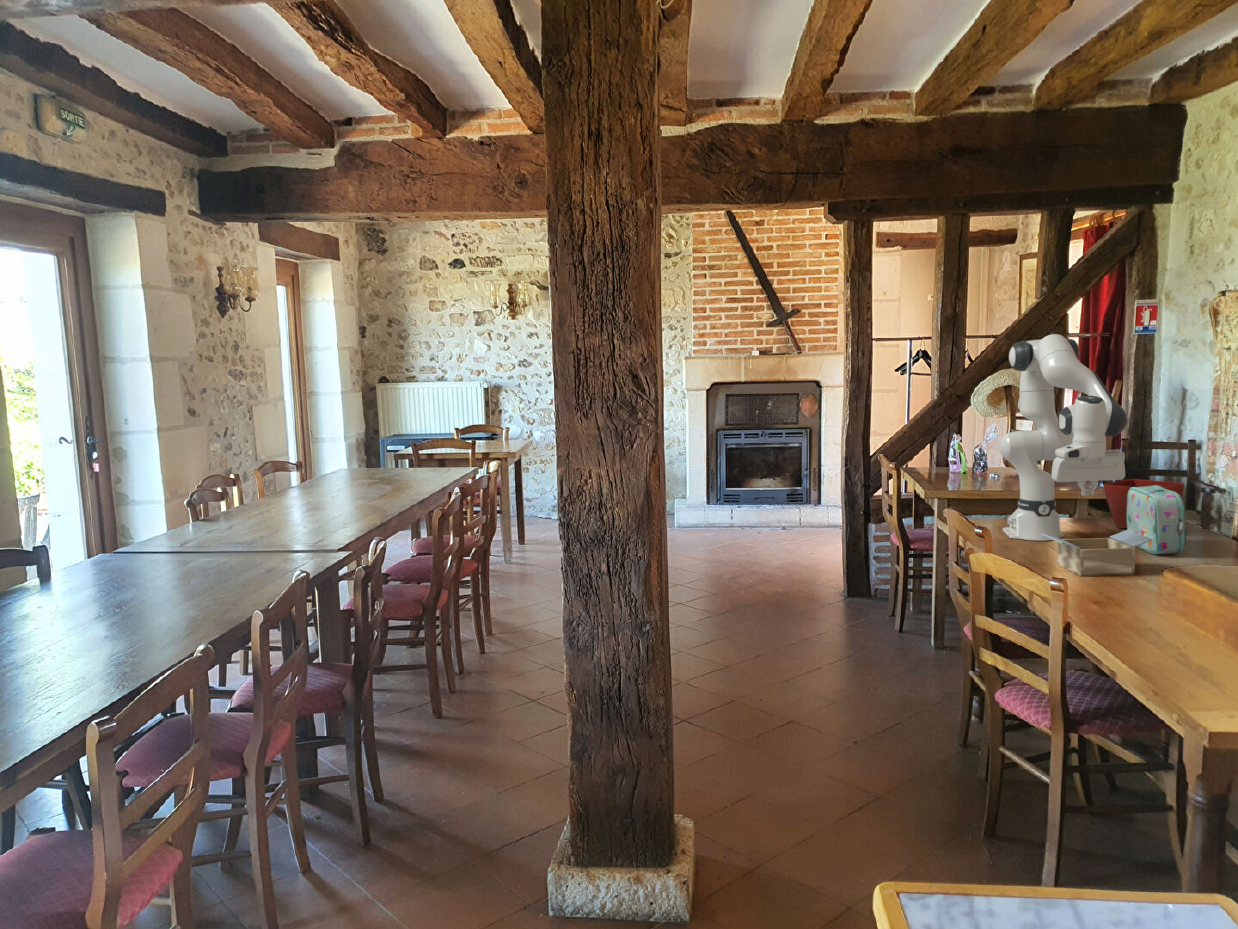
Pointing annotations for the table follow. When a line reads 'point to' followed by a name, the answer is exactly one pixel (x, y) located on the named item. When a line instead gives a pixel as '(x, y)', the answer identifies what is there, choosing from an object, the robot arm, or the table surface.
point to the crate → (1096, 557)
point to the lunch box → (1157, 518)
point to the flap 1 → (1060, 541)
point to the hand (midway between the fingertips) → (1087, 495)
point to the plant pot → (1119, 492)
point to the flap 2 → (1131, 538)
